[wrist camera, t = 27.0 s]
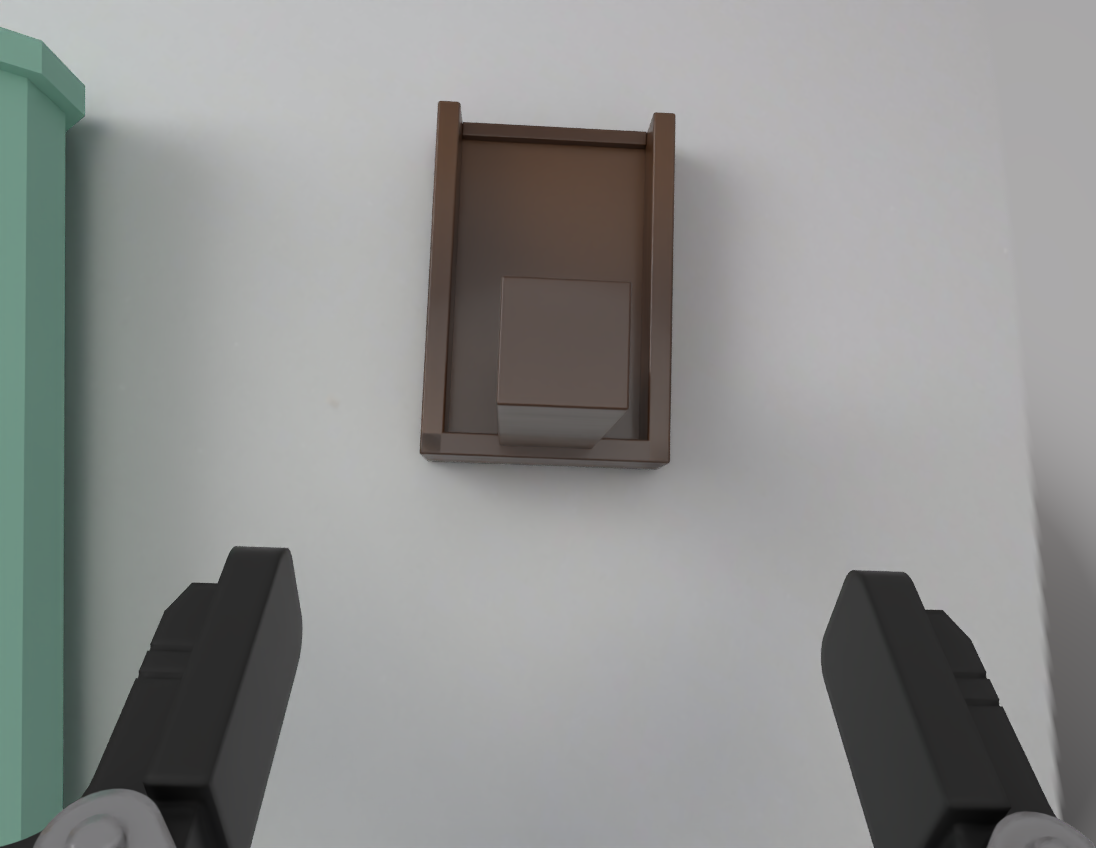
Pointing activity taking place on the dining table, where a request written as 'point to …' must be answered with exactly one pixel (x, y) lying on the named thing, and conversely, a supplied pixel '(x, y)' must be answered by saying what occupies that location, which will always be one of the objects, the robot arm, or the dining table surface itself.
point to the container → (32, 427)
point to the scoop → (550, 295)
